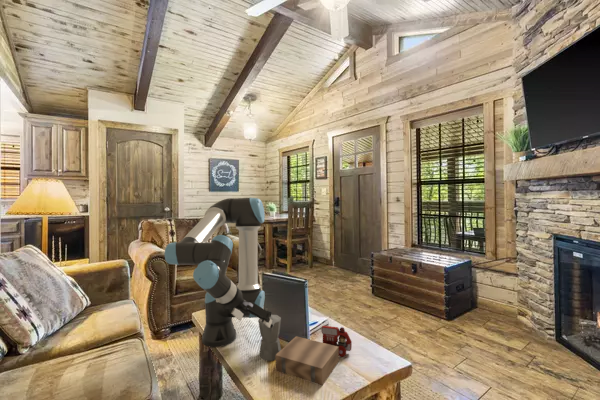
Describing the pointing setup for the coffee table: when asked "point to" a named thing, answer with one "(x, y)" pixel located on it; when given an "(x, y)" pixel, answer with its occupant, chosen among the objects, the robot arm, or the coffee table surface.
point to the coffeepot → (270, 338)
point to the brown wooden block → (307, 360)
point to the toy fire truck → (332, 338)
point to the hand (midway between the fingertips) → (255, 320)
